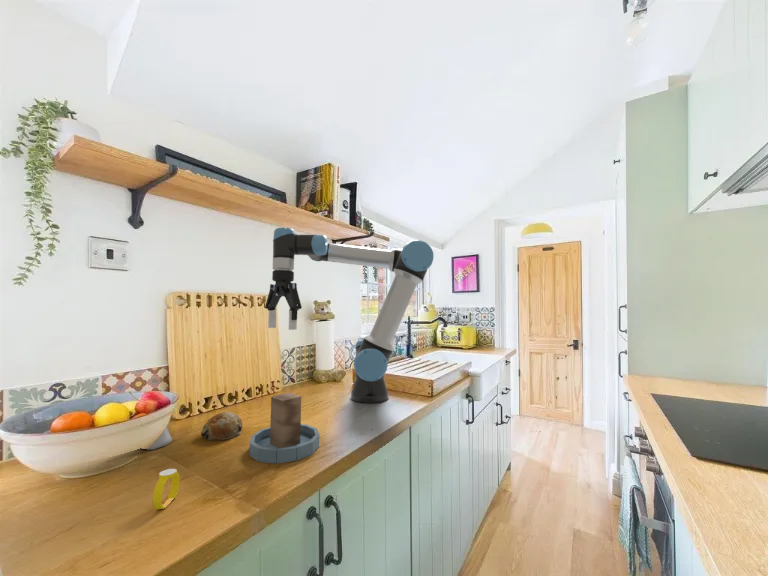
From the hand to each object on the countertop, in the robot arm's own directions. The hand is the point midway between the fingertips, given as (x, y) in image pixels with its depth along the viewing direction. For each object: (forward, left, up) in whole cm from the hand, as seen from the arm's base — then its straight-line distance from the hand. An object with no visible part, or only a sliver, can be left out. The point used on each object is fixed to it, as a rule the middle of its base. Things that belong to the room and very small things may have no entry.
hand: (281, 328), depth 116 cm
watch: (+44, +34, -29) cm, 63 cm away
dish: (+16, +29, -29) cm, 44 cm away
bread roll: (+23, +8, -29) cm, 38 cm away
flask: (+38, +2, -29) cm, 48 cm away
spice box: (+16, +29, -28) cm, 43 cm away
